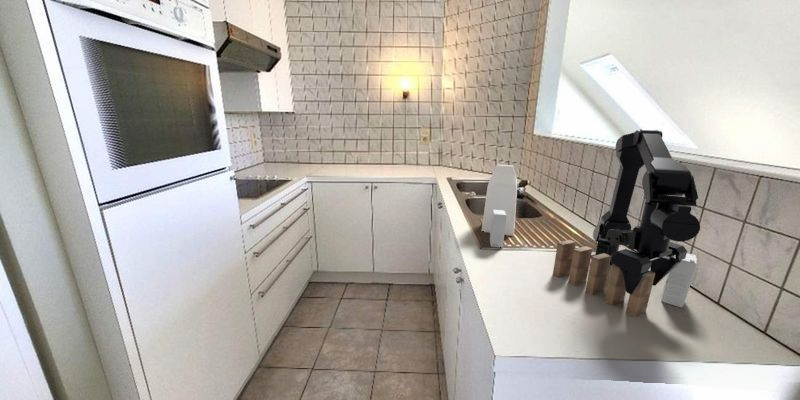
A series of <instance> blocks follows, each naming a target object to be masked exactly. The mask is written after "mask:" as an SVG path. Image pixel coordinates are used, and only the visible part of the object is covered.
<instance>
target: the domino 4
mask: <svg viewBox="0 0 800 400" xmlns="http://www.w3.org/2000/svg"><path fill="white" fill-rule="evenodd" d="M608 276H609V277H608V282H607V286H606V290H605V296H604V301H603V302H604V303H606V304H608V305H611V306H613V305H616V304H620V303H622V302H624V301H625V298H626V294H627V292H626V287H625V282H624V277H623V273H622V271H621V269H620V268H619V267H617V266H615V265H614V264H611V267H610V272H609V275H608Z"/></svg>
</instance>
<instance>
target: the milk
mask: <svg viewBox="0 0 800 400" xmlns="http://www.w3.org/2000/svg"><path fill="white" fill-rule="evenodd" d="M517 194H518V180H517V175H516V170H515V168H514V165H510V164H509V165H508V164H496V166H495V168H494V169H493V172H492V174H491V176H490V179H489V181H488V184H487V189H486V194H485V202H484V210H483V218H482V224H481V232H482V231H484V232H483V233H490V232H491V223H492V214H493V210H504V211H505V213H506V215H507V216H506V225H505V234H504V236H505V235H506V236H510V237H511V236H512V237H514V235H515V226H516V215H517V213H516V212H517V211H516V210H517V197H518V196H517Z"/></svg>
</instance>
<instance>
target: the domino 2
mask: <svg viewBox="0 0 800 400" xmlns="http://www.w3.org/2000/svg"><path fill="white" fill-rule="evenodd" d="M591 255H593V248H592V247H589V246H581V247H575V248H574V252H573V258H572V263H571V269H570V274H568V275H569V276H568V281H567V283H568V284H570V285H572V286H578V285H581V284H584V283H587V280H588V274H589V269H590V264H591Z"/></svg>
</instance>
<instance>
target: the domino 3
mask: <svg viewBox="0 0 800 400" xmlns="http://www.w3.org/2000/svg"><path fill="white" fill-rule="evenodd" d="M610 259H611V256H610V255H608V254H605V253H603V254H599V255H595V256H592V258H591V259H590V264H589V270H588V275H587V280H586V285H585V291H584V292H586V293H587V294H588V295H591V296H593V295H597V294H598V293H601V292H604V291H605V289H606V288H605V287H606V285H607V284H606V283H607V278H608V274H609V268H610V265H609V264H610Z"/></svg>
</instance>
